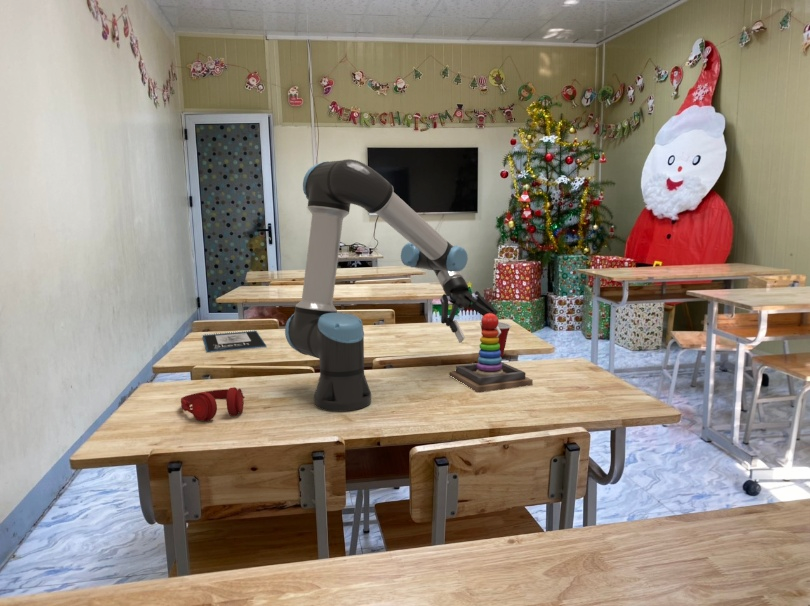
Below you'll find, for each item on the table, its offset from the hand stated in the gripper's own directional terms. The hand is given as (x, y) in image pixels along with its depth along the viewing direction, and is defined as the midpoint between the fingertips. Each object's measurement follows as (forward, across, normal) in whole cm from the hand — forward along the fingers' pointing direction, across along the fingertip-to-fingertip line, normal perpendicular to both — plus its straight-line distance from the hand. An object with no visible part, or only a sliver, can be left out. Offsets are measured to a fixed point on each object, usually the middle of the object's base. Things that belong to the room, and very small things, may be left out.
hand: (480, 337), depth 180 cm
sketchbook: (-54, +53, -73) cm, 105 cm away
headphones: (+1, +77, -17) cm, 79 cm away
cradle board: (+12, 0, -5) cm, 13 cm away
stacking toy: (+11, 0, -4) cm, 12 cm away
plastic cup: (-3, -18, -20) cm, 28 cm away
